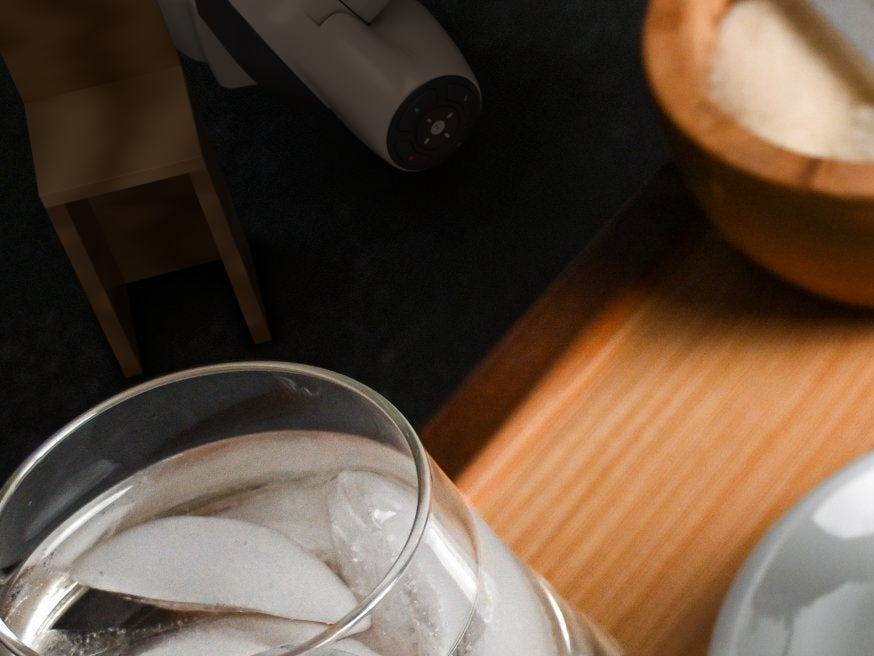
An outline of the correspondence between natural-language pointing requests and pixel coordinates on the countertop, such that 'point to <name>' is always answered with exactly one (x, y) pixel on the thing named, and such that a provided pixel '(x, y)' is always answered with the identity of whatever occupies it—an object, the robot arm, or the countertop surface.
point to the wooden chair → (122, 155)
